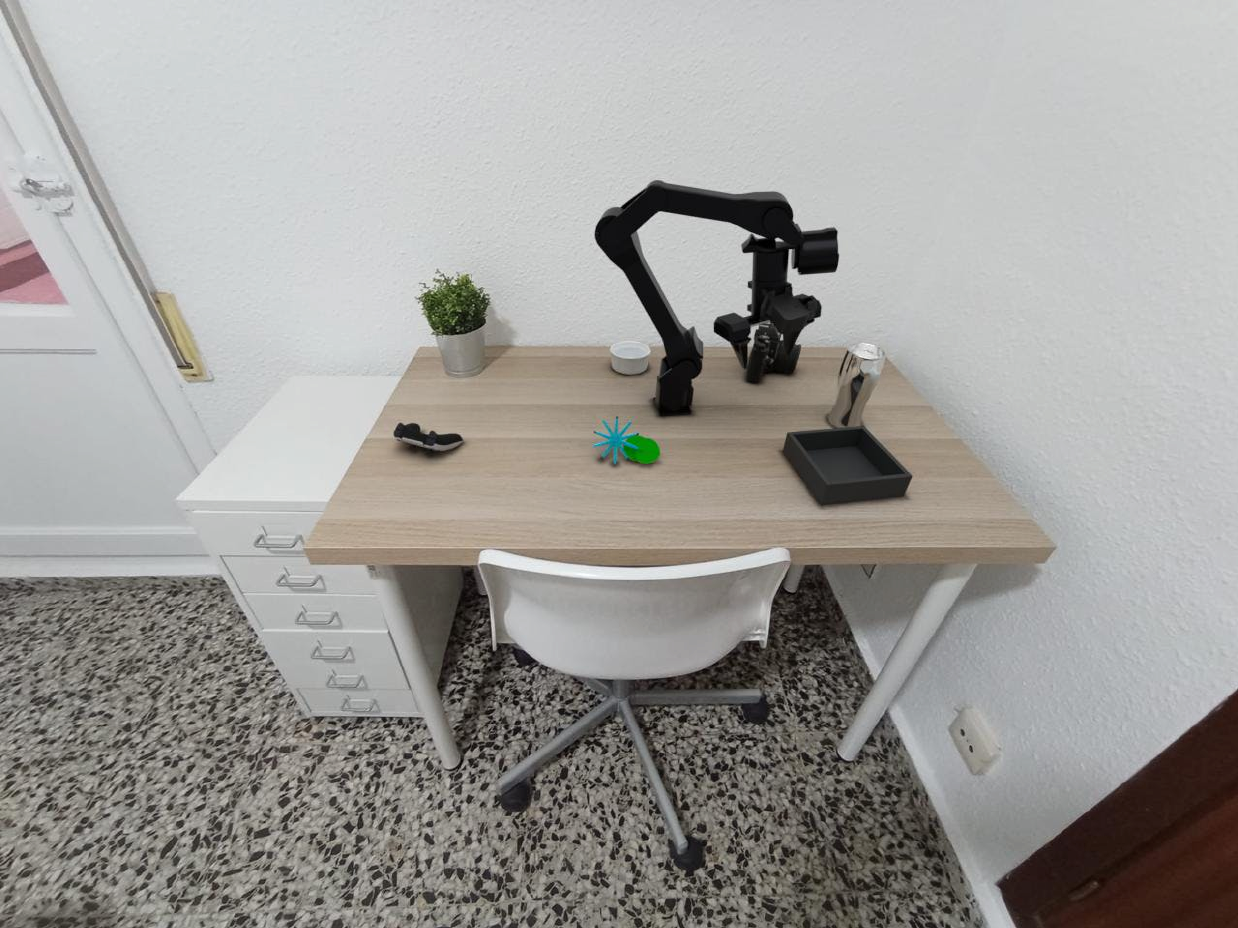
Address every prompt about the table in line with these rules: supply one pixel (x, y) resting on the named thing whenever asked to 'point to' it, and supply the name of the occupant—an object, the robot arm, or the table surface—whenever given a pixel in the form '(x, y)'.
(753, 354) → the film camera
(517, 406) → the table surface
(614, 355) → the ramekin
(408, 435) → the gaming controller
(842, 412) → the metal tumbler
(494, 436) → the table surface
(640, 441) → the stick construction toy
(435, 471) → the table surface
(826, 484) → the bin
